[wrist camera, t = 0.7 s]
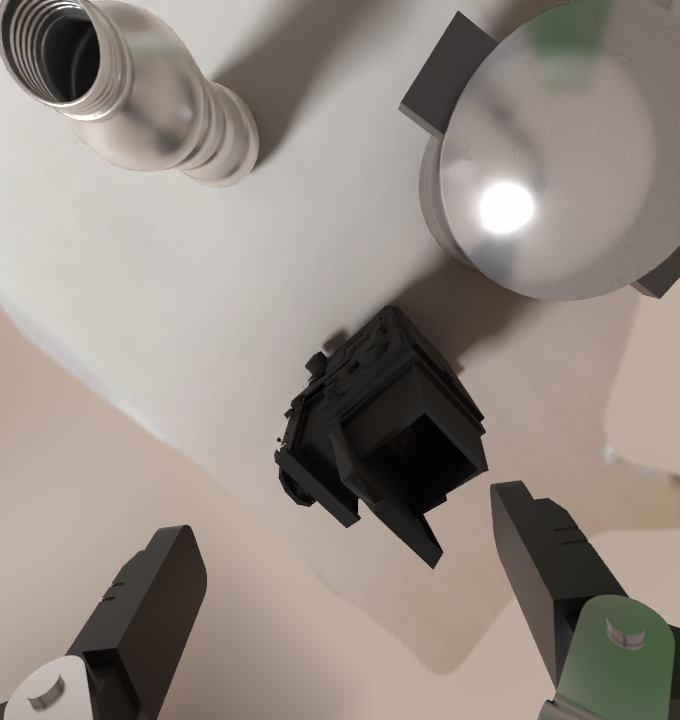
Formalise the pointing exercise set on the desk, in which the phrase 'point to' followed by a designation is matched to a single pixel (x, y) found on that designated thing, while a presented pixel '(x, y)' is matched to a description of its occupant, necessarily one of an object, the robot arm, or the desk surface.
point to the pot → (557, 149)
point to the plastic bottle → (128, 88)
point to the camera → (382, 432)
